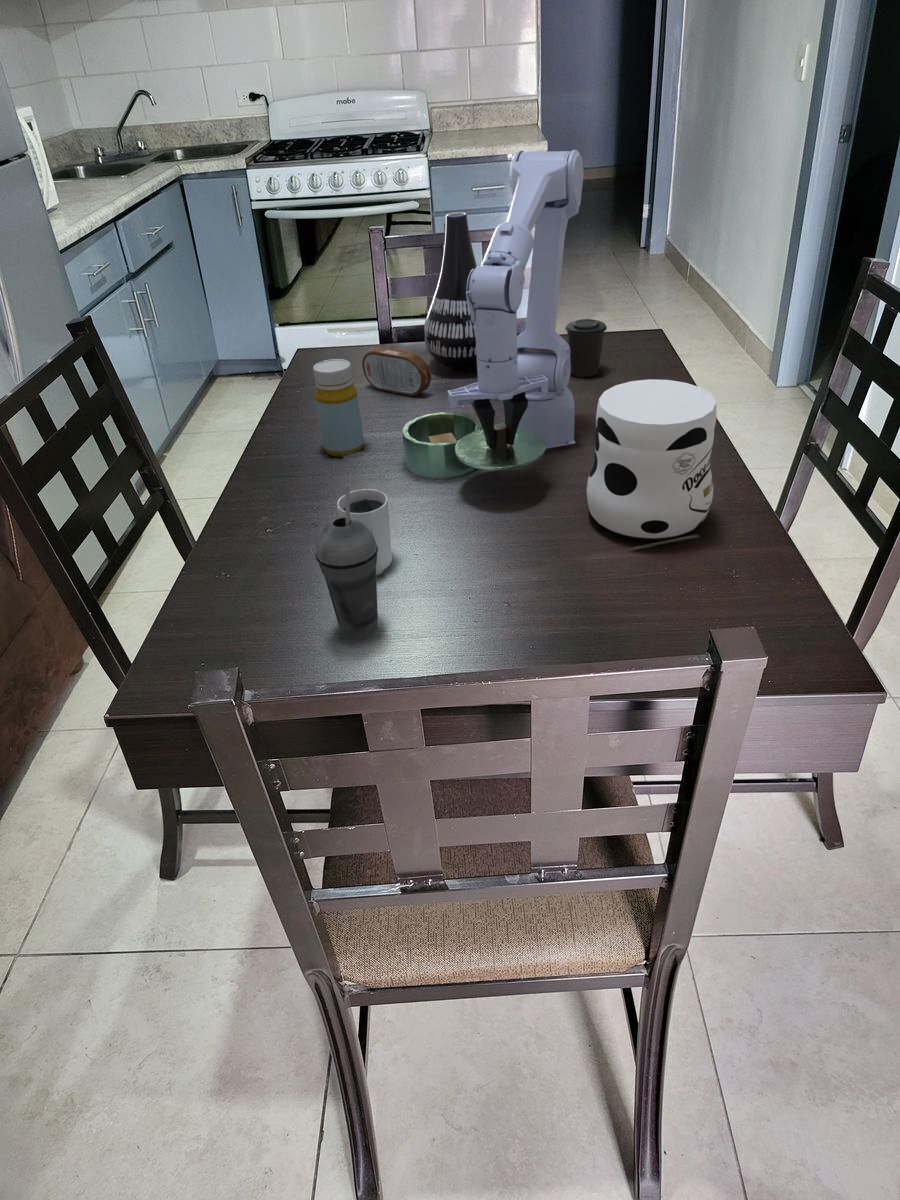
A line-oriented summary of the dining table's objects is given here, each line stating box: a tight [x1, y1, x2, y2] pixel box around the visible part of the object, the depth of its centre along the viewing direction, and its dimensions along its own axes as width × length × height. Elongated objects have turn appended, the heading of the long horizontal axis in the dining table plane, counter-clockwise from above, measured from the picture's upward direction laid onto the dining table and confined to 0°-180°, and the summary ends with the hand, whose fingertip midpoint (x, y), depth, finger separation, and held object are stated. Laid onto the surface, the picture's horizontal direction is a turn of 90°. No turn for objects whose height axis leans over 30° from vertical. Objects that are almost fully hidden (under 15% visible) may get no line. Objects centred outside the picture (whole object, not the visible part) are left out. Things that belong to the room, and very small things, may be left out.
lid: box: [455, 422, 547, 471], centre depth 124 cm, size 14×14×4 cm
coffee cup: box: [564, 318, 608, 378], centre depth 164 cm, size 8×8×10 cm
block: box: [428, 433, 456, 443], centre depth 137 cm, size 4×4×4 cm
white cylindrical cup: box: [336, 488, 393, 576], centre depth 112 cm, size 7×7×10 cm
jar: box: [401, 411, 482, 480], centre depth 137 cm, size 13×13×6 cm
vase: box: [423, 211, 478, 373], centre depth 166 cm, size 16×16×30 cm
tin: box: [361, 345, 432, 397], centre depth 163 cm, size 15×3×8 cm, turn 58°
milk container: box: [586, 379, 717, 542], centre depth 115 cm, size 17×17×18 cm
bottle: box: [312, 358, 365, 458], centre depth 141 cm, size 7×7×15 cm
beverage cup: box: [315, 483, 379, 642], centre depth 97 cm, size 7×7×20 cm
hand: (499, 444), depth 125 cm, fingers closed on lid, 2 cm apart
